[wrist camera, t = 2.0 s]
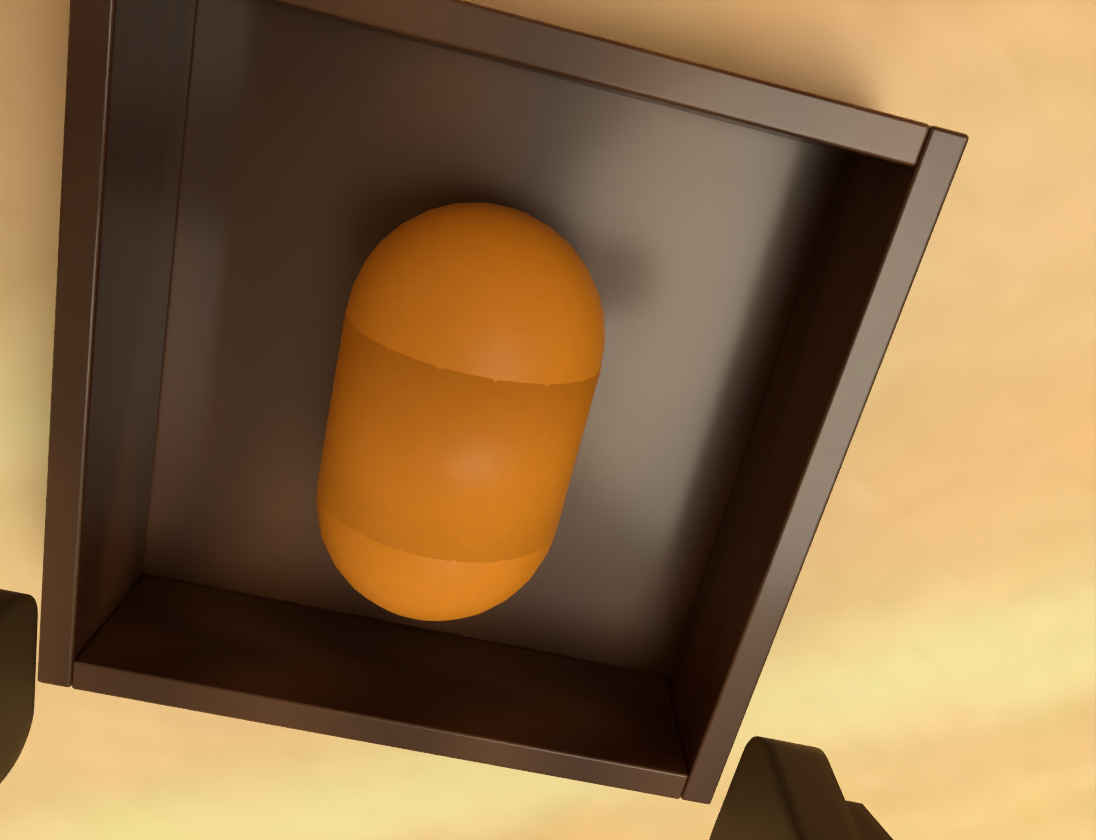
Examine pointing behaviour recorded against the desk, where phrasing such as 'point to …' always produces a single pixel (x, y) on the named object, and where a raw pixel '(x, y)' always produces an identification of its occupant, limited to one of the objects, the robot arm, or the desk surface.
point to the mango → (457, 409)
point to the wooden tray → (314, 340)
